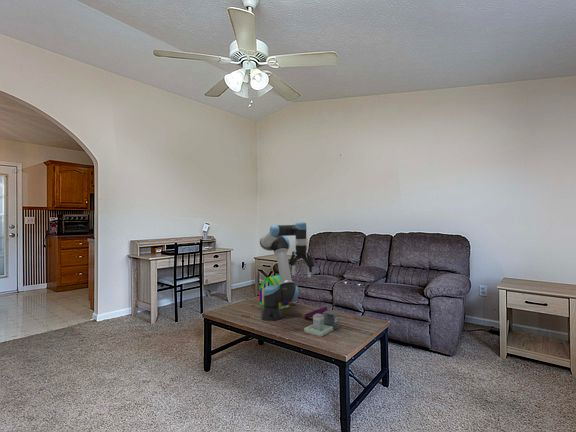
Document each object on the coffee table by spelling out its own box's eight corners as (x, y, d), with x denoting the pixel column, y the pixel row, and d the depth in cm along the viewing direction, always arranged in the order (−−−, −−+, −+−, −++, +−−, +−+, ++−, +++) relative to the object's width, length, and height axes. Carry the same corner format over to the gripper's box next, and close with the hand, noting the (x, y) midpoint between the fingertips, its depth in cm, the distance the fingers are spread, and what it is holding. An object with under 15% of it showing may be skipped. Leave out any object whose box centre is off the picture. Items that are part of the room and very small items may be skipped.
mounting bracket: (305, 326, 241) (322, 321, 230) (301, 315, 244) (318, 309, 232) (313, 323, 248) (330, 318, 236) (310, 312, 250) (326, 306, 239)
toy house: (289, 306, 273) (289, 276, 273) (277, 310, 265) (276, 279, 264) (271, 301, 292) (271, 273, 292) (259, 304, 283) (258, 275, 283)
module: (313, 330, 214) (312, 315, 214) (317, 328, 218) (317, 313, 218) (319, 332, 211) (319, 316, 211) (324, 329, 215) (324, 314, 215)
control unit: (322, 327, 223) (322, 312, 223) (326, 324, 227) (326, 310, 227) (334, 330, 217) (334, 314, 217) (338, 327, 221) (338, 313, 221)
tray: (304, 331, 214) (304, 328, 214) (316, 326, 224) (316, 322, 224) (321, 336, 205) (321, 332, 205) (333, 330, 216) (333, 326, 216)
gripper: (283, 244, 229) (283, 274, 229) (312, 246, 213) (313, 278, 213) (290, 243, 235) (290, 273, 235) (319, 245, 219) (319, 277, 219)
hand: (301, 276), depth 224 cm, fingers open, 13 cm apart
